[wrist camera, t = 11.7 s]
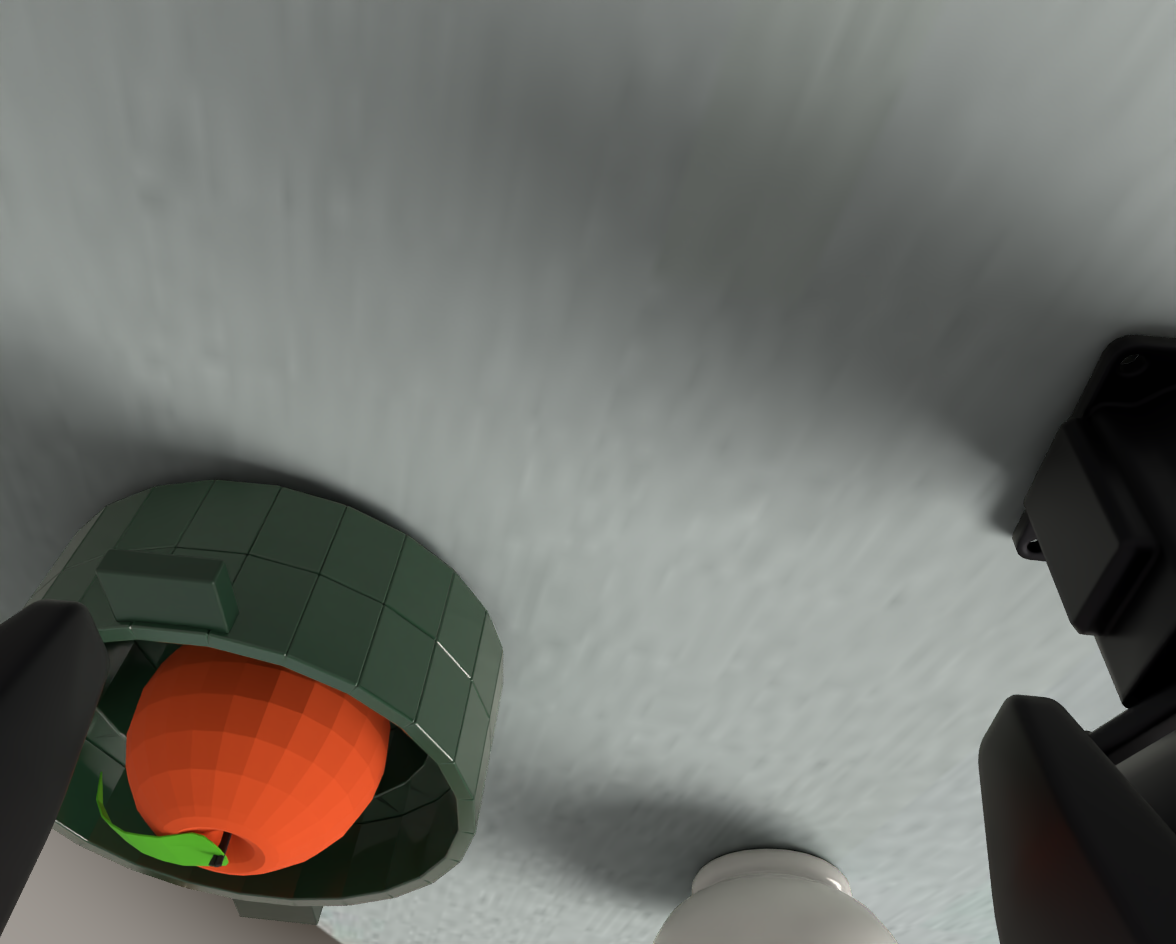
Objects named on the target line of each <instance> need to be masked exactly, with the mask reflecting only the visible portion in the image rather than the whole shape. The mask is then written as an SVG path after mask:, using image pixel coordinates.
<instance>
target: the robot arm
mask: <svg viewBox="0 0 1176 944" xmlns="http://www.w3.org/2000/svg"><path fill="white" fill-rule="evenodd" d="M1138 354H1139V355H1138ZM1131 355H1138V357H1137V358H1136V359H1135V360H1134V361H1132V362H1130V363H1127V364H1121V363H1122V361H1123V360H1124V359H1125V358H1127V357H1129V356H1131ZM1024 507H1025V510H1024V512H1023V514H1022V516H1021V518H1020V521H1019V523H1018V525H1017V527H1016V529H1015V531H1014V533H1013V537H1012V539H1013V542H1014V545H1015V547H1016V550H1017V552H1018V554H1019V555H1020V556H1021V557H1023V558H1025V559H1029V560H1038V561H1046V562H1047V565H1048V567H1049V570H1050V572H1051V575H1052V578H1053V580H1054V583H1055V585H1056V588H1057V590H1058V593H1059V595H1060V598H1061V600H1062V603H1063V605H1064V608H1065V610H1066V613H1067V616H1068V618H1069V621H1070V623H1071V624H1072V625H1073V627H1074V628H1075V629H1076V631H1077V632H1078V633H1079V634H1084V635H1094V637H1095V639H1096V642H1097V644H1098V646H1099V649H1100V651H1101V654H1102V656H1103V659H1104V661H1105V663H1106V666H1107V668H1108V671H1109V673H1110V675H1111V678H1112V680H1113V683H1114V685H1115V688H1116V690H1117V692H1118V695H1119V697H1120V700H1121V702H1122V704H1123V705H1124V706H1125V708H1129V709H1127V710H1126V711H1124V712H1123V713H1121V714H1119V715H1118V716H1116V717H1115V718H1113V719H1112V720H1110V721H1108V722H1107V723H1105V724H1104V725H1102V726H1100V727H1099V728H1097V729H1096V730H1094V731H1093V732H1090V731H1084V730H1083V729H1082V728H1081V726H1080V725H1079V724H1078V723H1077V722H1076V721H1075V720H1074V718H1073V717H1072V716H1071V715H1070V714H1069V713H1068V712H1067V710H1066V709H1065V708H1064V707H1063V706H1062V705H1061V704H1059V703H1058V702H1057V701H1055V700H1053V699H1050V698H1047V697H1037V696H1027V695H1012V696H1010V697H1009V698H1007V699H1006V700H1005V701H1004V703H1003V705H1002V706H1001V708H1000V710H999V711H998V713H997V715H996V717H995V718H994V720H993V722H992V724H991V725H990V727H989V729H988V731H987V732H986V734H985V736H984V738H983V739H982V742H981V745H980V748H979V757H978V764H979V775H980V785H981V794H982V804H983V813H984V823H985V832H986V842H987V851H988V860H989V870H990V879H991V889H992V897H993V905H994V913H995V920H996V925H997V930H998V935H999V940H1000V944H1176V338H1169V337H1158V336H1147V335H1126V336H1123V337H1120V338H1118V339H1116V340H1115V341H1113V342H1112V343H1110V344H1109V345H1108V346H1107V348H1106V349H1105V350H1104V351H1103V353H1102V355H1101V357H1100V359H1099V361H1098V363H1097V365H1096V367H1095V369H1094V371H1093V373H1092V375H1091V377H1090V379H1089V381H1088V383H1087V385H1086V387H1085V390H1084V392H1083V394H1082V396H1081V398H1080V400H1079V402H1078V404H1077V406H1076V408H1075V410H1074V412H1073V414H1072V416H1071V418H1069V419H1068V420H1067V421H1066V422H1064V423H1063V424H1062V425H1061V426H1060V428H1059V430H1058V432H1057V434H1056V436H1055V438H1054V440H1053V442H1052V444H1051V446H1050V448H1049V450H1048V452H1047V454H1046V456H1045V458H1044V460H1043V462H1042V464H1041V466H1040V468H1039V471H1038V473H1037V475H1036V477H1035V479H1034V481H1033V483H1032V485H1031V487H1030V489H1029V491H1028V493H1027V495H1026V497H1025V499H1024ZM1035 539H1038V540H1037V541H1035V542H1030V541H1033V540H1035ZM108 669H109V657H108V652H107V649H106V647H105V645H104V642H103V640H102V638H101V636H100V634H99V631H98V629H97V627H96V625H95V623H94V620H93V618H92V616H91V614H90V611H89V610H88V608H87V607H86V606H85V605H83V604H82V603H80V602H76V601H66V600H55V599H42V600H38V601H36V602H34V603H32V604H30V605H28V606H27V607H25V608H24V609H22V610H21V611H19V612H18V613H17V614H15V615H14V616H12V617H11V618H9V619H8V620H6V621H5V622H3V623H2V624H1V625H0V936H1V934H2V932H3V930H4V928H5V926H6V924H7V922H8V920H9V918H10V915H11V913H12V911H13V909H14V907H15V905H16V903H17V901H18V899H19V897H20V895H21V893H22V890H23V888H24V886H25V884H26V882H27V880H28V878H29V875H30V874H31V872H32V870H33V867H34V865H35V863H36V861H37V859H38V857H39V855H40V853H41V851H42V849H43V846H44V845H45V842H46V840H47V838H48V836H49V834H50V831H51V829H52V827H53V825H54V822H55V820H56V818H57V815H58V813H59V810H60V807H61V805H62V802H63V800H64V797H65V794H66V792H67V789H68V786H69V783H70V780H71V777H72V775H73V772H74V769H75V766H76V763H77V760H78V758H79V755H80V752H81V749H82V746H83V743H84V741H85V738H86V735H87V732H88V729H89V726H90V724H91V721H92V718H93V715H94V712H95V709H96V707H97V704H98V701H99V698H100V695H101V692H102V690H103V687H104V684H105V681H106V678H107V674H108Z"/></svg>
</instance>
